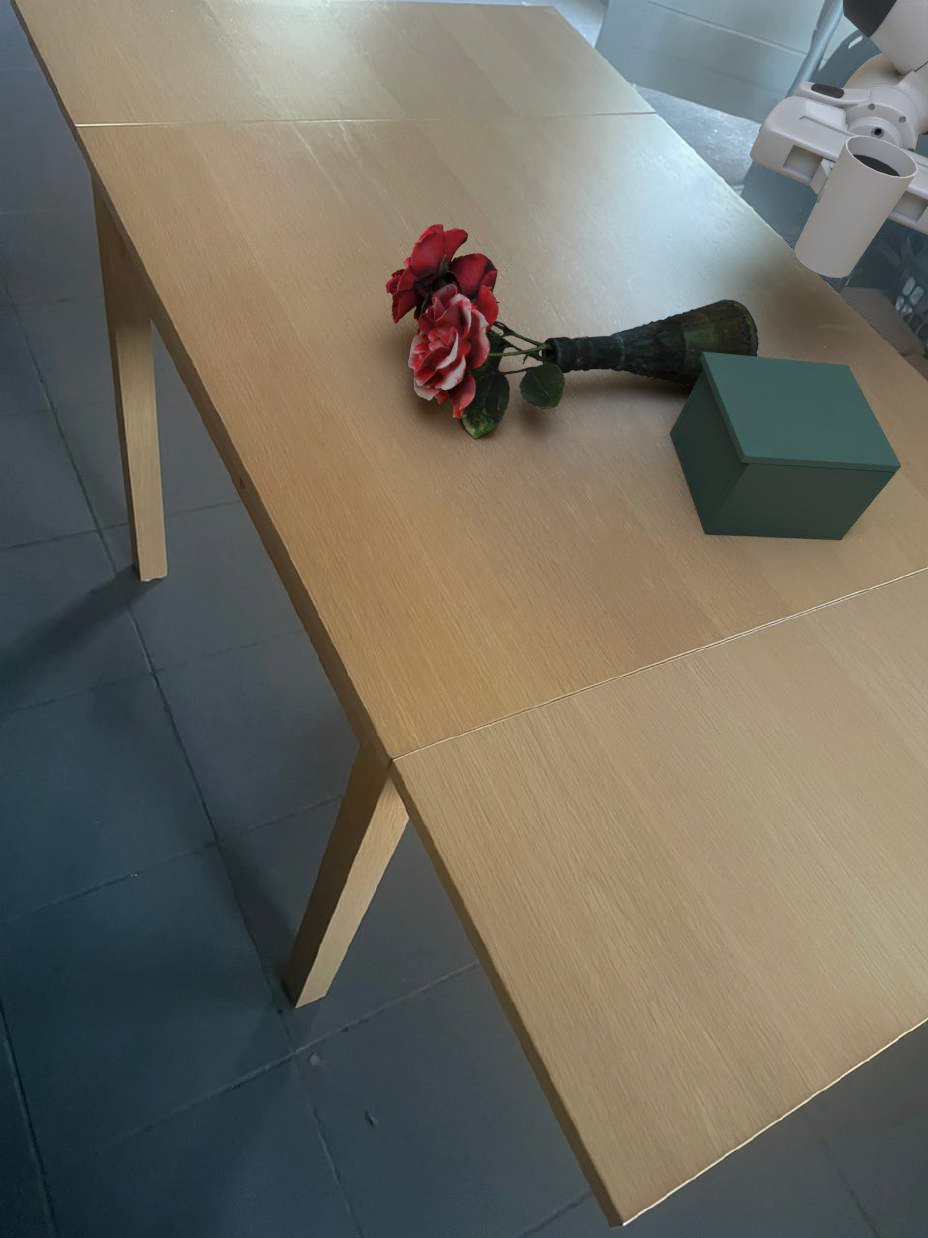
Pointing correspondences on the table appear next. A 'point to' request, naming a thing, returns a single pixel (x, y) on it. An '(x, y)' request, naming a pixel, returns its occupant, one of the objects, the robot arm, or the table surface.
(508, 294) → the table surface
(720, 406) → the lid
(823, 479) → the chest
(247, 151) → the table surface
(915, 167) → the white cup
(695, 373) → the vase with roses
